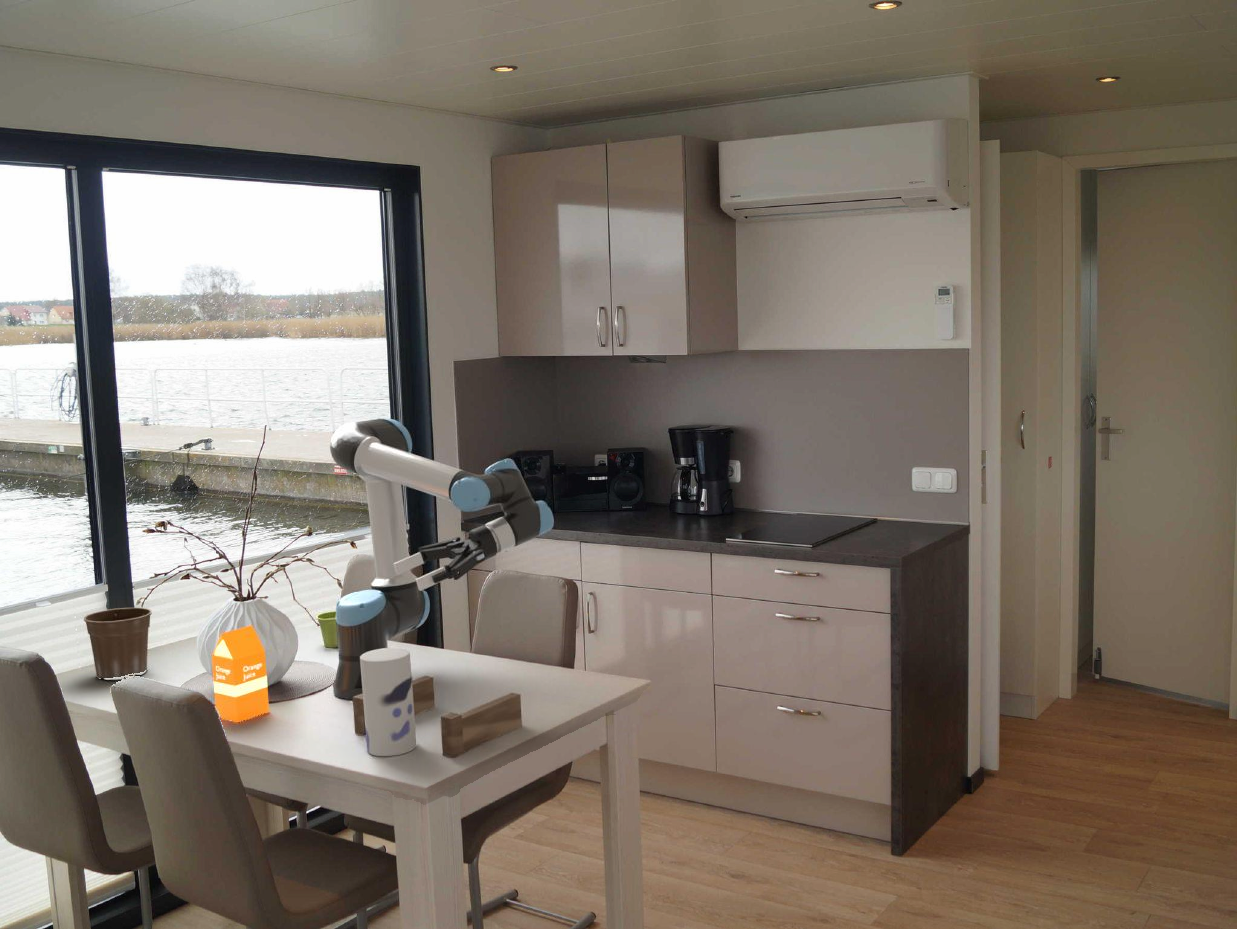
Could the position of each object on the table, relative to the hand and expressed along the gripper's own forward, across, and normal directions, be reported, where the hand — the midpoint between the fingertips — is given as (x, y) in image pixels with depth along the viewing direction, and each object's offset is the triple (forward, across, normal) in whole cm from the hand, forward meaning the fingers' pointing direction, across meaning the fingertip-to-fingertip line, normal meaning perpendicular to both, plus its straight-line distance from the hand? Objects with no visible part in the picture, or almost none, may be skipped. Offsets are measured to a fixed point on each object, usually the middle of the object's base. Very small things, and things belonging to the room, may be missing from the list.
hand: (406, 576), depth 250 cm
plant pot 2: (+7, +69, -39) cm, 80 cm away
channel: (+7, -15, -30) cm, 34 cm away
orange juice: (+40, +22, -24) cm, 52 cm away
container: (+19, -20, -26) cm, 38 cm away
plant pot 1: (+59, +76, -24) cm, 99 cm away
